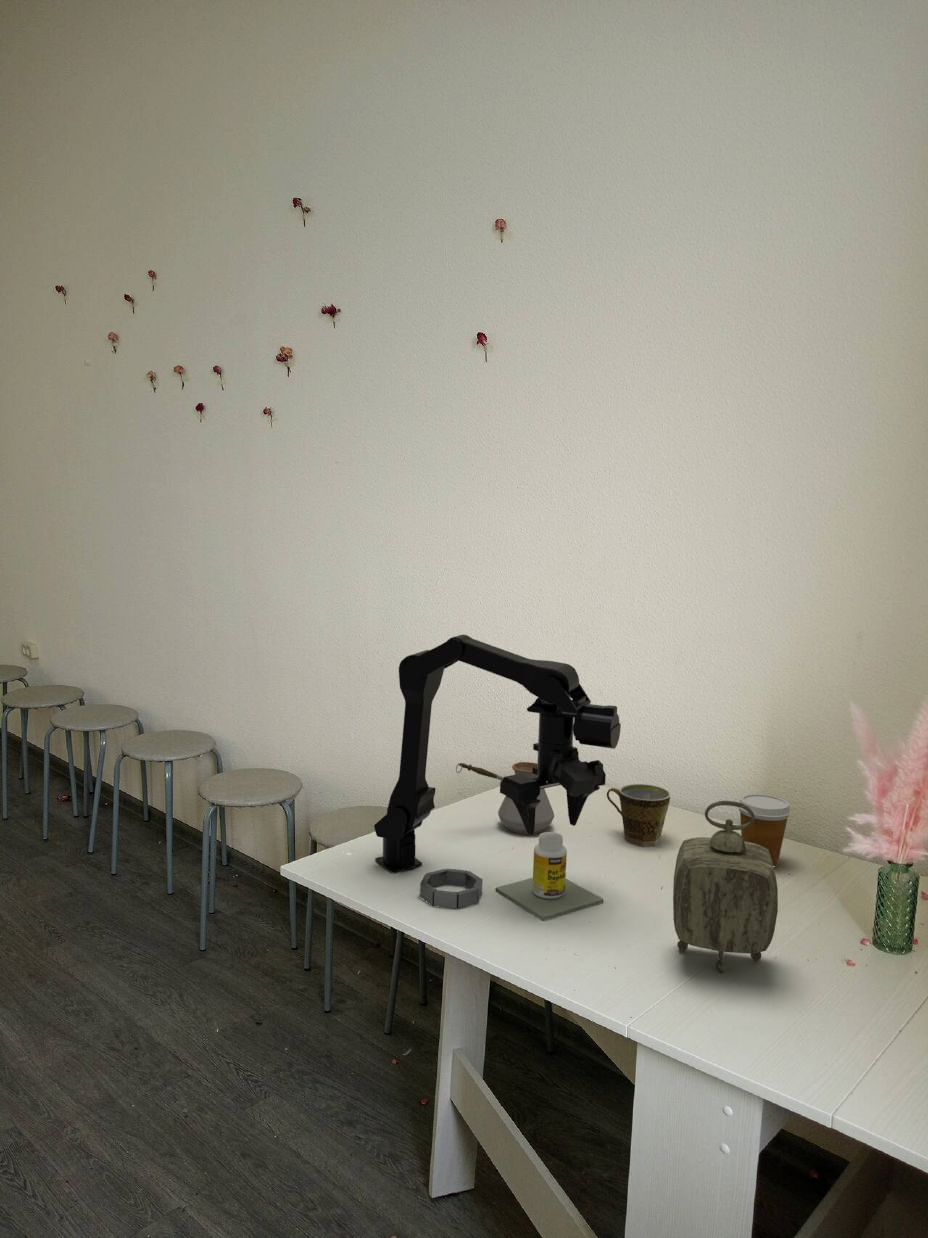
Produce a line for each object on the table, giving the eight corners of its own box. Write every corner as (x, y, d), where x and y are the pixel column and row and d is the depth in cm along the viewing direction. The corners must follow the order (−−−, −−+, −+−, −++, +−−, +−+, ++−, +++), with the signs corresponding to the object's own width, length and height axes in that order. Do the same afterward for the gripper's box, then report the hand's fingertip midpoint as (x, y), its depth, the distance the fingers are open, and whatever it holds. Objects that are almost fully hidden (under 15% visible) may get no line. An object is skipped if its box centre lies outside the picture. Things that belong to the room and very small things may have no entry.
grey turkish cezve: (537, 815, 200) (540, 746, 198) (563, 833, 189) (567, 761, 187) (444, 826, 192) (446, 755, 189) (466, 847, 181) (468, 771, 179)
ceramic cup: (674, 838, 189) (677, 790, 187) (656, 854, 180) (659, 803, 179) (614, 824, 195) (617, 778, 194) (594, 838, 187) (596, 790, 186)
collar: (410, 890, 161) (411, 877, 161) (459, 878, 166) (459, 865, 166) (442, 913, 153) (442, 899, 152) (492, 899, 158) (492, 885, 158)
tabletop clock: (767, 957, 141) (780, 797, 138) (773, 987, 133) (786, 818, 129) (669, 943, 145) (679, 787, 141) (668, 973, 136) (679, 807, 132)
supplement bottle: (546, 903, 156) (548, 844, 155) (525, 890, 161) (527, 833, 159) (571, 895, 159) (574, 838, 158) (551, 883, 164) (553, 827, 162)
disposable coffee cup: (731, 867, 175) (735, 805, 173) (736, 849, 184) (741, 790, 182) (785, 876, 171) (790, 813, 170) (788, 858, 180) (792, 797, 178)
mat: (495, 891, 162) (495, 887, 162) (553, 875, 169) (554, 872, 169) (543, 920, 151) (543, 917, 151) (603, 902, 158) (603, 899, 158)
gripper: (542, 760, 144) (538, 857, 147) (630, 744, 155) (625, 834, 157) (499, 743, 153) (496, 834, 156) (585, 728, 164) (581, 814, 166)
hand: (551, 830), depth 158 cm, fingers open, 9 cm apart
